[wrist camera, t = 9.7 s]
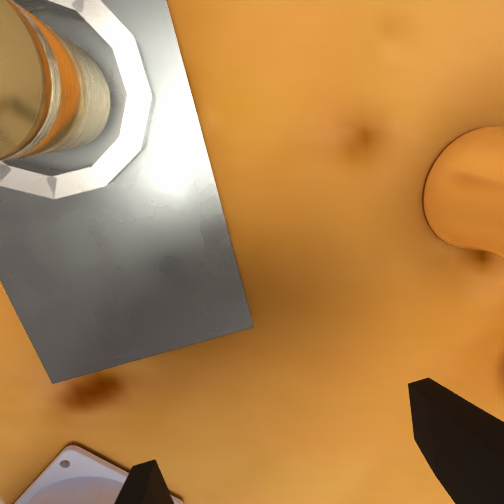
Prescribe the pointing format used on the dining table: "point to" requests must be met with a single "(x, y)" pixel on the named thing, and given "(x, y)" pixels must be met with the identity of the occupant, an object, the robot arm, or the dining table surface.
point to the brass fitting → (46, 88)
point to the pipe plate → (120, 209)
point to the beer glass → (469, 192)
